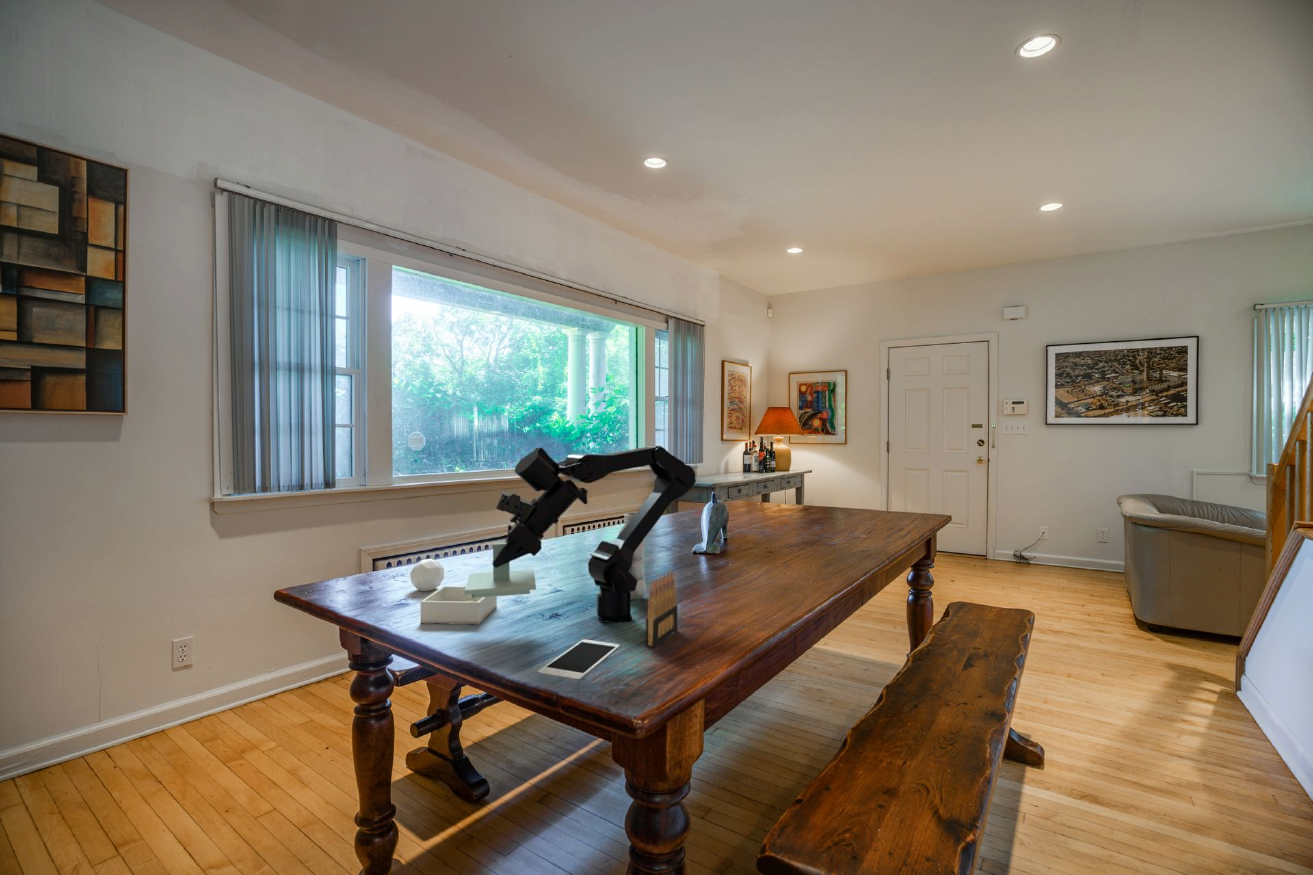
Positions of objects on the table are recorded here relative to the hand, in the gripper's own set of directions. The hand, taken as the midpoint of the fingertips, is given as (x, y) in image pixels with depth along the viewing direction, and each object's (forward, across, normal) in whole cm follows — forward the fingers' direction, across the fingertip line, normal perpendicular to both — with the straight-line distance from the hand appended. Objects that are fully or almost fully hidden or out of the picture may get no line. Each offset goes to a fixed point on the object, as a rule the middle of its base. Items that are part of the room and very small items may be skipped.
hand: (494, 564), depth 114 cm
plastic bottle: (-11, -18, +32) cm, 38 cm away
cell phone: (0, +16, +21) cm, 26 cm away
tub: (+15, -14, +4) cm, 20 cm away
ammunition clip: (-12, +9, +32) cm, 35 cm away
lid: (+2, 0, +4) cm, 5 cm away
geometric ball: (+22, -36, -3) cm, 42 cm away
